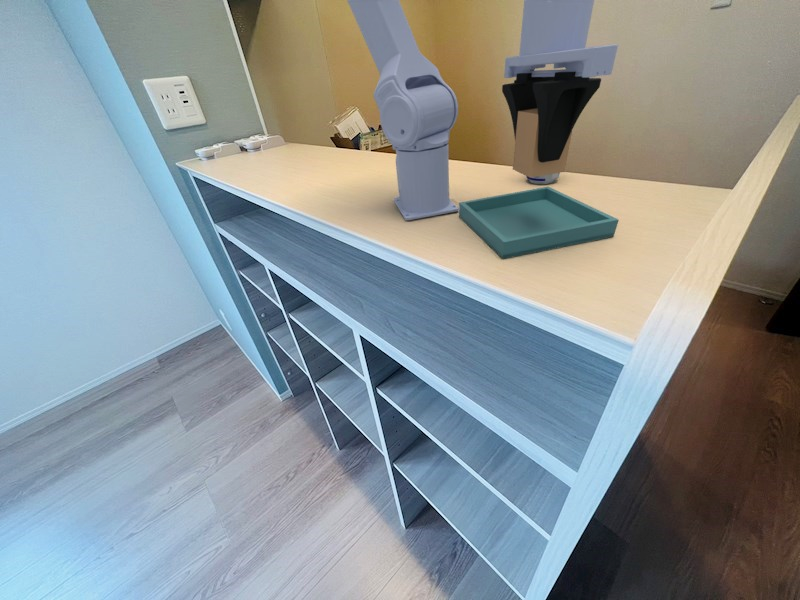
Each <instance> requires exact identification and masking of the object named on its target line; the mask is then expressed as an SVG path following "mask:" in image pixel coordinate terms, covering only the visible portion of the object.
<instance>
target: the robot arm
mask: <svg viewBox="0 0 800 600" xmlns="http://www.w3.org/2000/svg"><path fill="white" fill-rule="evenodd" d="M347 3H348V6H349V7H350V10H351V11H352V14H353V17H354V19H355V21H356V24H357V25H358V28H359V30H360V32H361V35H362V37H363V40H364V42H365V44H366V46H367V48H368V51H369V53H370V55H371V57H372V59H373V61H374V64H375V67H376V69H377V71H378V74H379V75H380V76H379V78H378V82H377V84H376V86H375V88H374V92H373V96H372V97H373V99H374V101H375V103H376V105H377V108H378V113H379V120H380V126H381V130H382V133H383V135H384V136H385V138H386V139H387V141H388V142H389V143H390V144H391V146H392V150H395V155H396V156H395V169H396V179H397V180H396V181H397V187H398V188H397V189H398V196H396V197H394V198H393V202H394V204H395V206H396V207H397V208H398V210H399V212H400V213H401V215H402V217H403V218H404V220H405V221H412V220H417V219H422V218H428V217H429V218H430V217H434V216H439V215H445V214H450V213H456V212H459V206H457V205H456V204H455V202H453V201H452V200H451V199H450V172H449V171H450V169H449V168H450V167H449V164H450V163H449V157H450V156H449V140H450V137H451V136H450V131H451V130H452V128H453V127H454V125H455V124H456V121H457V118H458V115H459V102H458V99H457V96H456V94H455V92H454V90H453V89H452V88H451V87H450V86H449V85H448V84H447V83H446V82H445V81H444V79H443V78H442V76H441V74H440V73H441V72H440V71H439V69H438V67H437V66H436V65H435V64H434V63H432V61H430V60H429V59H428V58H427V57H425V56H424V55H423V54H422V52H420V48H419V47H418V44H417V42H416V39H415V36H414V34H413V31H412V29H411V27H410V24H409V22H408V19H407V16H406V14H405V11H404V10H403V6H402V4H401V2H400V0H347ZM594 3H595V0H523V9H522V21H521V31H520V32H521V33H520V42H519V43H520V44H519V53H518V54H519V55H515V56H509V57H505V59H504V72H503V73H504V74H503V75H504V76H503V77H504V78H503V79H511V78H512V79H513V78H516V79H514V80H513V82H512V83H511V82H510V83H505V84H502V86H501V87H502V88H501V90H502V94H503V96H504V98H505V100H506V103H507V105H508V109H509V112H510V116H511V122H512V128H513V134H514V135H513V136H514V140H515V139H516V129H517V118H518V111H522V110H529V109H536V108H537V109H538V121H539V132H538V160H539V162H548V161H554V160H559V159H560V157H561V154H562V152H563V150H564V148H565V145H566V143H567V140H568V138H569V136H570V134H571V131H572V132H573V129H574V127H575V125H576V124H577V121H578V119H579V117H580V115H581V114H582V113H583V111H584V109H585V108H586V106H587V105H588V104H589V102H590V101H591V100H592V99H591V98H593V96H594V95H595V94H596V92H597V91H598V90H599V88H601V87H600V86H601V82H602V78H600V76H608V75H609V76H610V75H612V73H613V68H614V63H615V60H616V55H617V51H618V47H619V44H617V43H616V44H615V43H614V44H610V45H609V44H608V45H599V46H587V40H588V37H589V36H588V35H589V29H590V25H591V19H592V14H593V9H594ZM551 64H552V65H553V69H544V70H541V69H542V68H546V65H551ZM537 69H540V70H537ZM571 135H572V134H571Z"/></svg>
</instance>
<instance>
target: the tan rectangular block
mask: <svg viewBox="0 0 800 600" xmlns="http://www.w3.org/2000/svg"><path fill="white" fill-rule="evenodd" d="M538 132H539V121H538V109H537V108H536V109H529V110H522V111H518V118H517V129H516V139H515V138H514V152H513V162H512V171H515V172H518V173H520V174H521V175H524V176H528V177H530V178H532V177H538V176H543V175H549V174H555V173H560V174H561V173H565V170H566V165H567V160H568V154H569V149H570V144H571V139H572V134H573V130H572V131H571V134H570V136H569V138H568V140H567V143H566V145H565V148H564V150H563V152H562V154H561V157H560V159H559V160H554V161H548V162H539V160H538Z"/></svg>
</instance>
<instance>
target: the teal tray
mask: <svg viewBox="0 0 800 600" xmlns="http://www.w3.org/2000/svg"><path fill="white" fill-rule="evenodd" d="M458 208H459V210H458V217H459V218H460V219H461V220H462V221H463V222H464V223H465V224H466V225H467V226H468V227H469V228H470V229H471V230H472V231H473V232H474V233H475V234H476V235H477V236H478V237H479V238H481V240H483V242H484V243H485V244H486V245H488V246H489V248H491V250H492V251H493V252H495V254H497V255H498V257H500V259H502V260H506V259H511V258H515V257H520V256H524V255H529V254H534V253H539V252H544V251H549V250H550V251H551V250H555V249H559V248H560V249H561V248H564V247H569V246H574V245H578V244H585V243H589V242H590V243H591V242H595V241H599V240H604V239H608V238H614V237H615V233H616V230H617V227H618V223H619V219H618V218H616V217H614V216H612V215H609V214H607V213H606V212H603V211H601V210H599V209H597V208H595V207H593V206H591V205H588V204H586V203H584V202H583V201H580V200H578V199H576V198H574V197H571V196H569V195H568V194H565V193H563V192H561V191H559V190H556V189H554V188H552V187H550V186H545V187H544V186H543V187H538V188H537V187H536V188H532V189H528V190H522V191H517V192H509V193H503V194H499V195H493V196H487V197H483V198H482V197H481V198H477V199H472V200H467V201H459V203H458Z"/></svg>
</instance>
